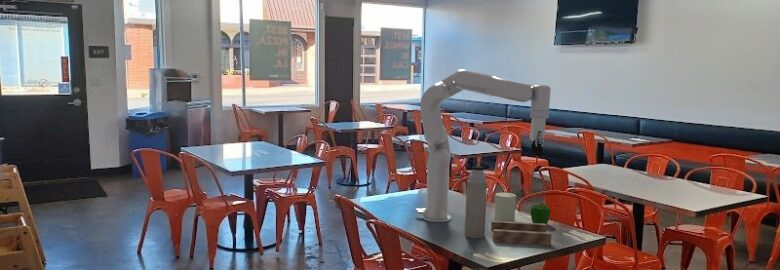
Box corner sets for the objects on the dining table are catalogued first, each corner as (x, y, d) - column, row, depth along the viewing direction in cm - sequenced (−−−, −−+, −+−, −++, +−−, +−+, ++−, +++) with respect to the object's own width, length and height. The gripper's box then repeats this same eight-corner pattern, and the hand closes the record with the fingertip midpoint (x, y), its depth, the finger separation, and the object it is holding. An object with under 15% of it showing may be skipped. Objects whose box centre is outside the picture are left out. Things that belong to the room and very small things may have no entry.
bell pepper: (527, 221, 263) (528, 199, 262) (545, 221, 264) (546, 199, 263) (533, 226, 255) (535, 203, 254) (552, 226, 256) (553, 203, 255)
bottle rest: (493, 241, 231) (493, 230, 230) (490, 231, 246) (491, 220, 245) (550, 245, 229) (551, 234, 228) (545, 234, 243) (545, 223, 243)
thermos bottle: (484, 233, 242) (488, 165, 239) (483, 239, 234) (487, 169, 231) (465, 231, 244) (468, 164, 240) (463, 237, 236) (466, 167, 233)
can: (510, 224, 258) (511, 197, 257) (490, 220, 263) (491, 194, 261) (517, 219, 266) (519, 193, 264) (498, 216, 271) (499, 190, 269)
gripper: (527, 112, 259) (524, 150, 261) (533, 115, 242) (530, 157, 244) (545, 113, 259) (542, 151, 261) (551, 116, 241) (548, 158, 244)
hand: (536, 154), depth 252 cm, fingers open, 9 cm apart
